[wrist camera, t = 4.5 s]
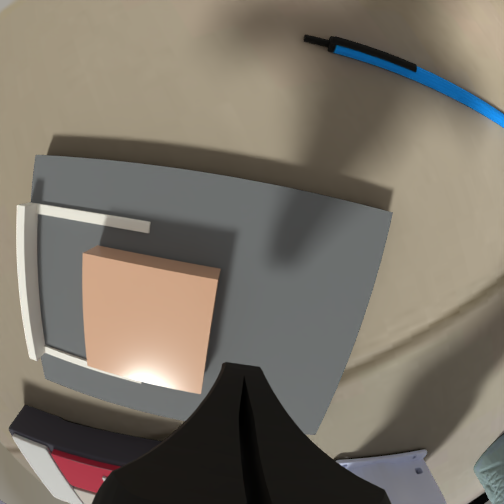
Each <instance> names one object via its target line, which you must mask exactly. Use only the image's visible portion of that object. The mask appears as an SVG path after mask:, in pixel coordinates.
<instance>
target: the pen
mask: <svg viewBox="0 0 504 504" xmlns="http://www.w3.org/2000/svg"><path fill="white" fill-rule="evenodd" d="M304 41H305V42H309V43H314V44H318V45H322V46H326V47H328V51H329V52H332V53H336V54H340V55H343V56H347V57H350V58H354V59H357V60H360V61H363V62H366V63H369V64H372V65H375V66H378V67H381V68H384V69H386V70H389V71H392V72H395V73H397V74H400V75H402V76H405V77H407V78H410V79H412V80H414V81H417V82H419V83H421V84H424V85H426V86H428V87H430V88H433V89H435V90H437V91H439V92H441V93H443V94H445V95H447V96H449V97H451V98H453V99H455V100H457V101H459V102H461V103H463V104H465V105H466V106H468V107H470V108H472V109H474V110H475V111H477V112H479V113H481V114H482V115H484V116H486V117H487V118H489V119H491V120H492V121H494V122H496V123H497V124H499V125H500V126H502V127H503V128H504V114H503V113H502V112H500V111H499V110H497V109H495V108H494V107H492V106H491V105H489V104H488V103H486V102H484V101H483V100H481V99H479V98H478V97H476V96H474V95H473V94H471V93H469V92H468V91H466V90H464V89H462V88H460V87H458V86H457V85H455V84H453V83H451V82H449V81H447V80H445V79H443V78H441V77H439V76H437V75H435V74H433V73H431V72H429V71H427V70H424V69H422V68H420V67H418V66H417V65H415V64H413V63H411V62H408V61H406V60H404V59H401V58H399V57H396V56H394V55H391V54H388V53H386V52H383V51H380V50H377V49H374V48H372V47H369V46H366V45H363V44H359V43H356V42H353V41H350V40H346V39H343V38H339V37H332V36H331V37H330V38H329V40H326V39H322V38H318V37H314V36H309V35H305V36H304Z"/></svg>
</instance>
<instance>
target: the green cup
mask: <svg viewBox="0 0 504 504" xmlns="http://www.w3.org/2000/svg"><path fill="white" fill-rule="evenodd" d="M474 472H475V474H476V476H477V477H478V479H479V481H480V483H481V484H482V485H483V488H484V489H485V491H486V494H487V496H488V498H489V500H490V501H491V502H492V503H493V504H502V503H504V434H503V435H502V436H500V437H499V438H498V439H497V440H496V441H495V442H494V443H493V444H492V445H491V446H490V447H489V448H488V449H487V450H486V451H485V452H484V453H483V455H482V456H481V457H480V458H479V460H478V461H477V463H476V464H475V466H474Z"/></svg>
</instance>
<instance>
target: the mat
mask: <svg viewBox="0 0 504 504" xmlns="http://www.w3.org/2000/svg"><path fill="white" fill-rule="evenodd" d="M392 214H393V213H392V212H389V211H385V210H381V209H378V208H374V207H370V206H366V205H362V204H358V203H354V202H350V201H346V200H342V199H338V198H333V197H329V196H325V195H320V194H316V193H311V192H307V191H302V190H298V189H293V188H288V187H283V186H278V185H273V184H268V183H263V182H258V181H252V180H247V179H241V178H236V177H230V176H224V175H218V174H212V173H206V172H199V171H193V170H186V169H179V168H172V167H165V166H157V165H149V164H141V163H132V162H123V161H113V160H103V159H92V158H80V157H66V156H50V155H36V156H35V164H34V172H33V181H32V193H31V202H30V203H25V204H19V205H17V222H16V246H17V271H18V284H19V295H20V304H21V312H22V319H23V325H24V331H25V337H26V343H27V348H28V353H29V357H30V358H31V359H33V360H35V361H37V360H38V359H39V358H40V357H41V361H42V365H43V370H44V375H45V379H47V380H50V381H52V382H55V383H57V384H60V385H62V386H65V387H67V388H70V389H72V390H75V391H78V392H81V393H83V394H86V395H89V396H92V397H95V398H98V399H101V400H104V401H107V402H111V403H114V404H117V405H121V406H124V407H128V408H131V409H135V410H139V411H142V412H146V413H150V414H155V415H159V416H163V417H168V418H172V419H177V420H182V421H186V420H187V419H188V418H189V417H190V416H191V414H192V413H193V412H194V411H195V410H196V409H197V407H198V406H199V405H200V403H201V402H202V401H203V400H204V398H205V397H206V396H207V394H208V393H209V391H210V389H211V388H212V386H213V385H214V383H215V381H216V379H217V377H218V375H219V373H220V370H221V367H222V364H223V363H224V362H231V363H237V364H244V365H251V366H259V367H260V368H261V369H262V371H263V373H264V375H265V377H266V379H267V381H268V383H269V384H270V386H271V388H272V390H273V392H274V393H275V395H276V396H277V398H278V400H279V401H280V403H281V404H282V406H283V407H284V409H285V410H286V412H287V413H288V414H289V416H290V417H291V418H292V420H293V421H294V422H295V423H296V425H297V426H298V427H299V428H300V429H301V430H302V432H303V433H304V434H310V435H315V434H316V432H317V430H318V428H319V426H320V424H321V422H322V420H323V418H324V416H325V413H326V411H327V409H328V407H329V405H330V402H331V400H332V398H333V396H334V393H335V391H336V389H337V386H338V384H339V381H340V379H341V377H342V374H343V372H344V369H345V367H346V364H347V362H348V359H349V357H350V354H351V351H352V349H353V346H354V343H355V341H356V338H357V335H358V332H359V329H360V327H361V324H362V321H363V318H364V315H365V312H366V309H367V306H368V303H369V299H370V296H371V293H372V290H373V287H374V283H375V280H376V276H377V273H378V270H379V266H380V262H381V259H382V255H383V251H384V247H385V243H386V240H387V235H388V231H389V227H390V223H391V219H392ZM97 245H99V246H103V247H108V248H113V249H119V250H124V251H129V252H134V253H139V254H144V255H149V256H155V257H160V258H165V259H170V260H176V261H181V262H187V263H192V264H198V265H203V266H209V267H214V268H220V269H221V271H220V277H219V283H218V289H217V295H216V301H215V308H214V314H213V321H212V327H211V334H210V341H209V347H208V354H207V361H206V368H205V375H204V381H203V386H202V392H201V394H197V393H191V392H186V391H181V390H176V389H171V388H167V387H162V386H158V385H154V384H150V383H145V382H141V381H138V380H134V379H130V378H126V377H123V376H119V375H116V374H112V373H109V372H105V371H102V370H99V369H96V368H93V367H89V366H87V357H86V347H85V335H84V320H83V294H82V260H83V253H84V252H86V251H87V250H89V249H91V248H93V247H95V246H97Z"/></svg>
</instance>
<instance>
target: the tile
mask: <svg viewBox="0 0 504 504" xmlns="http://www.w3.org/2000/svg"><path fill="white" fill-rule="evenodd" d="M220 271H221V269H220V268H214V267H209V266H203V265H198V264H192V263H187V262H181V261H176V260H170V259H165V258H160V257H155V256H149V255H144V254H139V253H134V252H129V251H124V250H119V249H113V248H108V247H103V246H99V245H97V246H95V247H93V248H91V249H89V250H87V251H86V252H84V253H83V260H82V294H83V320H84V335H85V347H86V357H87V366H89V367H93V368H96V369H99V370H102V371H105V372H109V373H112V374H116V375H119V376H123V377H126V378H130V379H134V380H138V381H141V382H145V383H150V384H154V385H158V386H162V387H167V388H171V389H176V390H181V391H186V392H191V393H197V394H201V392H202V386H203V381H204V375H205V368H206V361H207V354H208V347H209V341H210V334H211V327H212V321H213V314H214V308H215V301H216V295H217V289H218V283H219V277H220Z"/></svg>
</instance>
